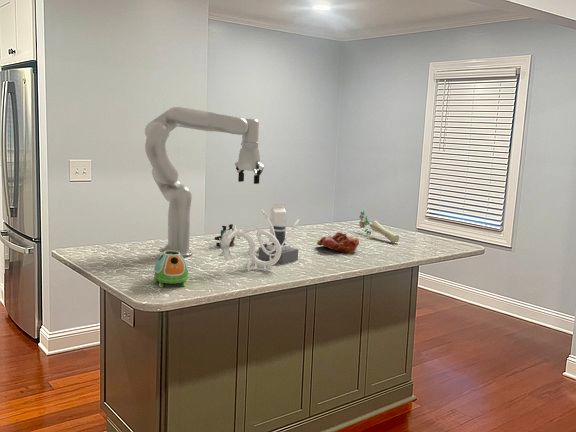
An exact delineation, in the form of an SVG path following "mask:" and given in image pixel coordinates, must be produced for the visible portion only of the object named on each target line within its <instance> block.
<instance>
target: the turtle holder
mask: <svg viewBox="0 0 576 432" xmlns="http://www.w3.org/2000/svg"><path fill="white" fill-rule="evenodd" d="M169 253H172V254H173V255H170V254H169ZM153 272H154V274H153V277H154V283H158V287H159V288H163V287H164V284H181V285H180V286H181V287H182V286H183V287H182V288H184V287H186V282H185V281H187V280H188V279H189V267H188V263H187V261H186V259H185V257H182V255H181V254H180V252H178V251H164V252H162V253H161V254H160V255H159V256H158V258H157V260H156V263H155V265H154V269H153Z"/></svg>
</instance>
